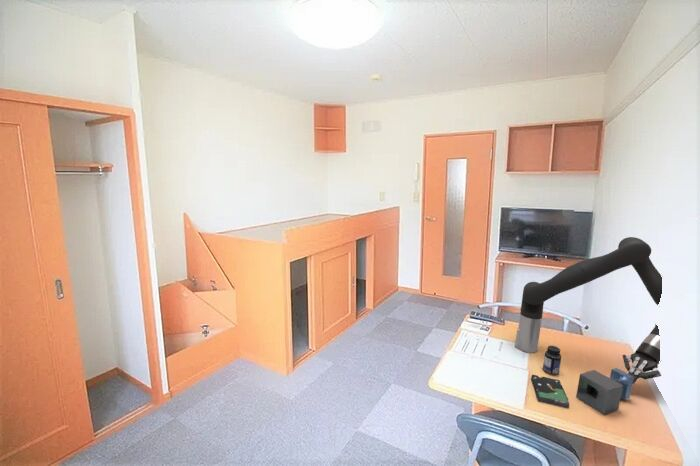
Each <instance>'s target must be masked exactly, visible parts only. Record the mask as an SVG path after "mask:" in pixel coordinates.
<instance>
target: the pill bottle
mask: <svg viewBox="0 0 700 466" xmlns="http://www.w3.org/2000/svg"><path fill="white" fill-rule="evenodd" d="M561 363H562V355H561V348H559V347H558V346H555V345H548V346H547V350H546V351H544V355H543V364H542V370H543V371H544V372H545V373H546V374H548V375H552V376H556V375H559V373H560V369H561Z"/></svg>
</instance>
